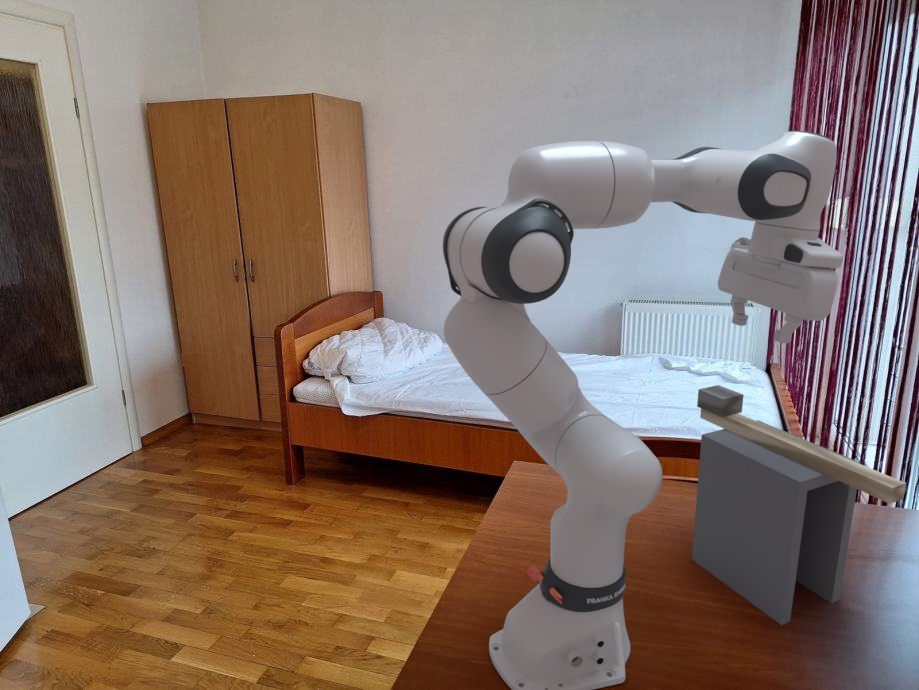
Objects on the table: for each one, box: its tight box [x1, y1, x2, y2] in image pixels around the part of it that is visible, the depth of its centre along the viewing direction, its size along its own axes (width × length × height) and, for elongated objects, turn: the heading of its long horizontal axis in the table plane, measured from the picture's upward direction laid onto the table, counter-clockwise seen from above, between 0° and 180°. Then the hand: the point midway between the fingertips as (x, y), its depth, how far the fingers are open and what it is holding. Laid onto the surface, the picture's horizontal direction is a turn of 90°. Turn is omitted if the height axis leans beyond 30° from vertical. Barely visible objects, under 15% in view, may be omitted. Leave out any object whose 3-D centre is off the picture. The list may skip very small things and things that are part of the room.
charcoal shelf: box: [691, 420, 862, 626], centre depth 110 cm, size 14×20×26 cm
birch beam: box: [696, 384, 907, 504], centre depth 104 cm, size 5×36×6 cm, turn 24°
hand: (758, 332), depth 99 cm, fingers open, 8 cm apart
